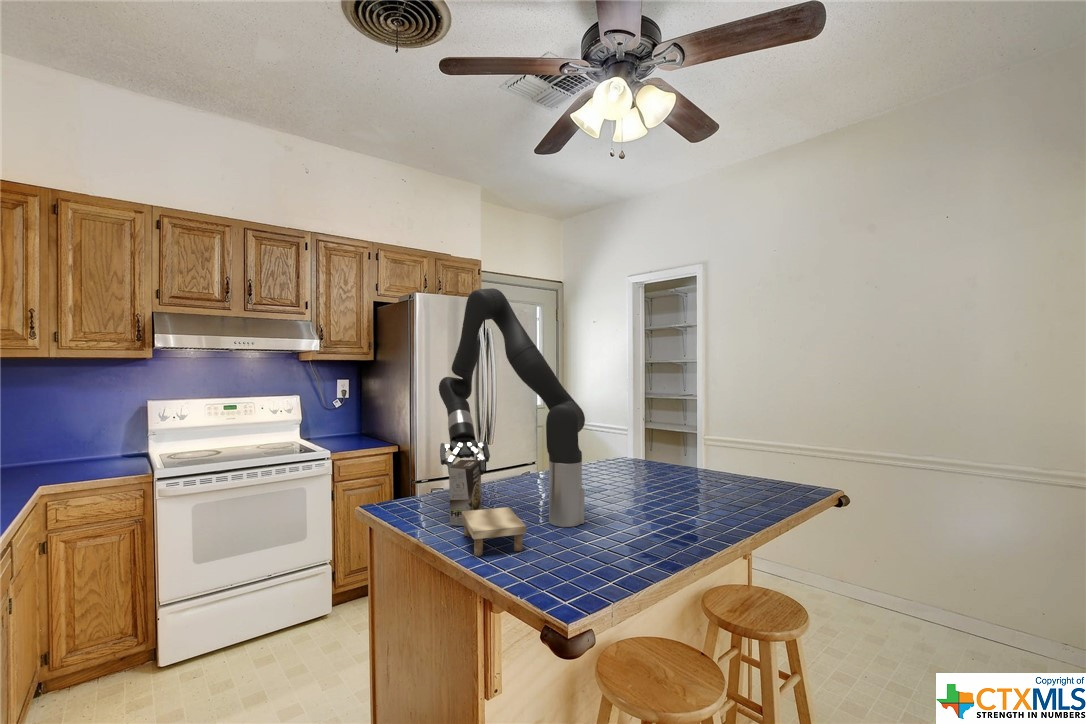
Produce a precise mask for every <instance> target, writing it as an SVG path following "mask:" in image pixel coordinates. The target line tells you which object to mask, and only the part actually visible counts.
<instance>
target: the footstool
mask: <svg viewBox="0 0 1086 724" xmlns="http://www.w3.org/2000/svg"><path fill="white" fill-rule="evenodd" d="M462 520H463V522H464V526H463V530H464V531H463V532H464V534H463V536H464V537H465V536H467V537H466V538H470V536H471V538H472V539H473V540H474V541H473V556H474V555H475V556H474V557H482V556H483V554H484V552H483V551H484V539H490V538H499V537H509V536H513V541H514V542H513V551H514V552H516V551H520V552H522V551H523V549H524V548H523V546H524V545H523V544H524V543H523V541H524V540H523V535H527V525H526V524H525V523H524V522H523V521H522V520H521V519H520V518H519V517H518V516H517V514H515V512H514V511H513V510H512V509H511V508H510V507H509V506H506V507H496V508H485V509H482V510H472V511H462ZM481 555H482V556H481Z"/></svg>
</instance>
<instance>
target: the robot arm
mask: <svg viewBox="0 0 1086 724" xmlns="http://www.w3.org/2000/svg"><path fill="white" fill-rule="evenodd" d="M464 308H465V309H464V315H463V321H462V327H461V328H462V329H461V334H460V340H459V343H458V347H457V350H456V352H455V353H456V354H455V356H454V358H453V362H452V365H451V371H452V373H453V374H454V375H455V376H457V377H452V376H445V377H443V378H442V379H441V380H440V382H439V384H438V391H439V396H440V398H441V400H442V402H443V405H444V406H445V408H446V412H447V426H448V427H447V429H448V434H449V444H445V443H444V442H441V443H440V445H439V447H440V448H439V454H440V455H439V457H440V464H441V465H442V466H445V465H446V466H447V471H448V474H449V468H450V467H451V466H453V465H454V463H455V461H457V459H458V458H459V459H465V458H466V459H472V460H481V476H482V475H484V473H485V472H486V463H488V462H489V461H490V457H491V454H490V450H489V445H488V442H487V441H486V440H484V441H482V442H477V439H476V435H475V428H474V421H473V418H472V414H471V409H470V404H469V401H468V399H469V398H470V397H471V394H472V389H473V388H472V387H473V375H474V371H475V368H476V367H477V366H476V365H477V362H478V361H479V355H480V345H479V333H480V330H481V328H482V326H483V323H484V321H487V320H492V321H493V322H494V324H496V326H497V328H498V329H499V331H500V333H501V334H502V337H503V341H504V350H505V356H506V359H507V361H508V362H509V365H510V366H511V368H512V369H513V371H514V372H515V374H516V375H517V376H518V377H519V378H520V380H521V381H522V382H523V383H524V384H526V386H527V387H528V388H530V389H531V390H532V391H533V392H534V393H535V394H537V395H538V396H539V398H540V399H541V400H542V401H543V403H544V404H545V405H546V407H547V409H548V413H547V415H546V420H545V434H546V437H545V438H546V450H547V453H548V523H549V524H550V525H552V526H555V527H560V528H561V527H562V528H573V527H577V526H580V525H581V524H585V497H586V496H585V494H586V492H585V488H583V482H582V481H583V463H582V462H583V452H582V450H581V449H580V446H579V433H580V432H581V431H582V430H583V429H584V427H585V424H586V423H585V422H586V416H585V413H584V411H583V409H582V408H581V406H580V405H579V404H578V403H577V402H576V401H575V400H574V399H573V397H572V396H571V395H570V394H569V393H568V391H567V390H566V389H565V388H564V386H563V385H562V384H561V382H560V381H559V379H558V377H557V376H556V374H555V373H554V371H553V369H552V368H551V366H550V365H549V363H548V362H547V360H546V359H545V357H544V355H543V354H542V353H541V351H540V350H539V349H538V347H537V346H536V344H535V343H534V342H533V340H532V339H531V337H530V336H529V334H528V333H527V331H526V329H525V328H524V327H523V325H522V324H521V323H520V321H519V319H518V317H517V315H516V314H515V312H514V310H513V308H512V306H511V305H510V303H509V301H508V299H507V297H506V296H505V294H504V293H503V291H500V290H499V289H498V288H480V289H479V288H478V289H474V290H473V291H471V292H470V293H469V295H468V297H467V300H466V303H465V307H464ZM478 449H480V451H482V454H481V452H480V451H479V450H478ZM448 450H449V451H450V452H451V454H450V456H449V457H448V458H447V457H446V453H447V452H448Z"/></svg>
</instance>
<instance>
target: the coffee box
mask: <svg viewBox="0 0 1086 724" xmlns="http://www.w3.org/2000/svg"><path fill="white" fill-rule="evenodd" d="M448 475H449V476H448V481H449V482H448V483H449V484H448V485H449V489H448V490H449V491H448V492H449V494H448V495H449V525H451V526H456V527H457V526H459V527H464V522H463V520H462V511H472V510H483V509H482V508H483V507H482V506H483V504H482V502H483V501H482V475H481V460H474V459H460V460H458V461H457V462H456V463H453V466H451V467H450V468H449V473H448Z"/></svg>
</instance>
